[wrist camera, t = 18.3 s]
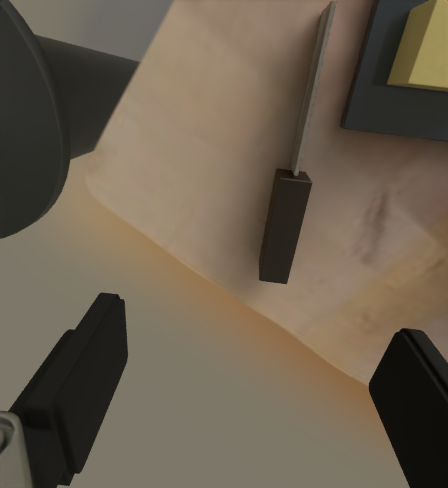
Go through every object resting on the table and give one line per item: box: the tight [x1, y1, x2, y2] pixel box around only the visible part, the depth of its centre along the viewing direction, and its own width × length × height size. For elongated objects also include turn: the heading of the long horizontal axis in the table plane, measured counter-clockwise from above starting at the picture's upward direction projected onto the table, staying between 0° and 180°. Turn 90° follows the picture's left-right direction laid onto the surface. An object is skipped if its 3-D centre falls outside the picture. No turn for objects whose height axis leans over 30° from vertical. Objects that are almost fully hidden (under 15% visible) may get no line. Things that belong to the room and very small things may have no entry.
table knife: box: [259, 1, 337, 284], centre depth 22 cm, size 2×19×3 cm, turn 174°
